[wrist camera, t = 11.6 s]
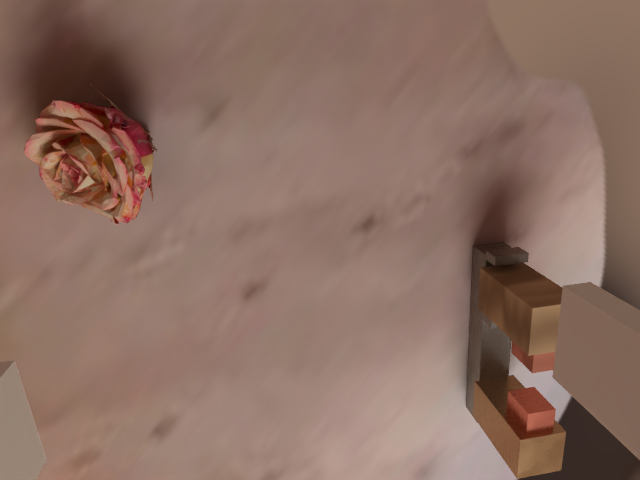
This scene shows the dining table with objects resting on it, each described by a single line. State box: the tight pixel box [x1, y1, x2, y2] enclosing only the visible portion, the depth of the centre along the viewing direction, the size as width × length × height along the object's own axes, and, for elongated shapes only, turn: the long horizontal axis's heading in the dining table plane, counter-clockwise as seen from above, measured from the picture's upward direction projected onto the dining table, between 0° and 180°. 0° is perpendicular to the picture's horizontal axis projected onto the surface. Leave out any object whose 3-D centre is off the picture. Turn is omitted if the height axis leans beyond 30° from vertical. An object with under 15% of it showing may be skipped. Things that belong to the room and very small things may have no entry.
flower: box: [24, 82, 157, 225], centre depth 33 cm, size 10×9×8 cm
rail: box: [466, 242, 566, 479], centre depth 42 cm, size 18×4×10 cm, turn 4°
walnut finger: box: [478, 263, 563, 373], centre depth 39 cm, size 6×4×8 cm, turn 4°
